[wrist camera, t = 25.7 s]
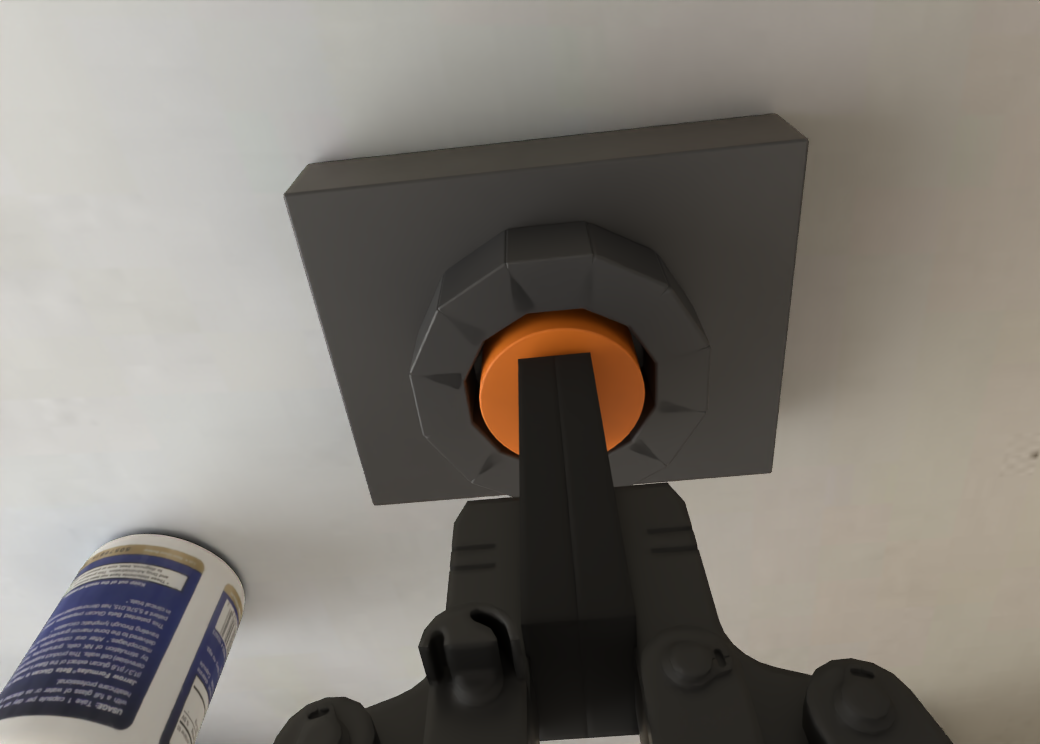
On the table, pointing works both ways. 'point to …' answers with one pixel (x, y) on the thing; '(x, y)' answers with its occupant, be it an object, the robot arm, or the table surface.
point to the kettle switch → (562, 336)
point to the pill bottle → (128, 649)
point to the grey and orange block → (558, 290)
